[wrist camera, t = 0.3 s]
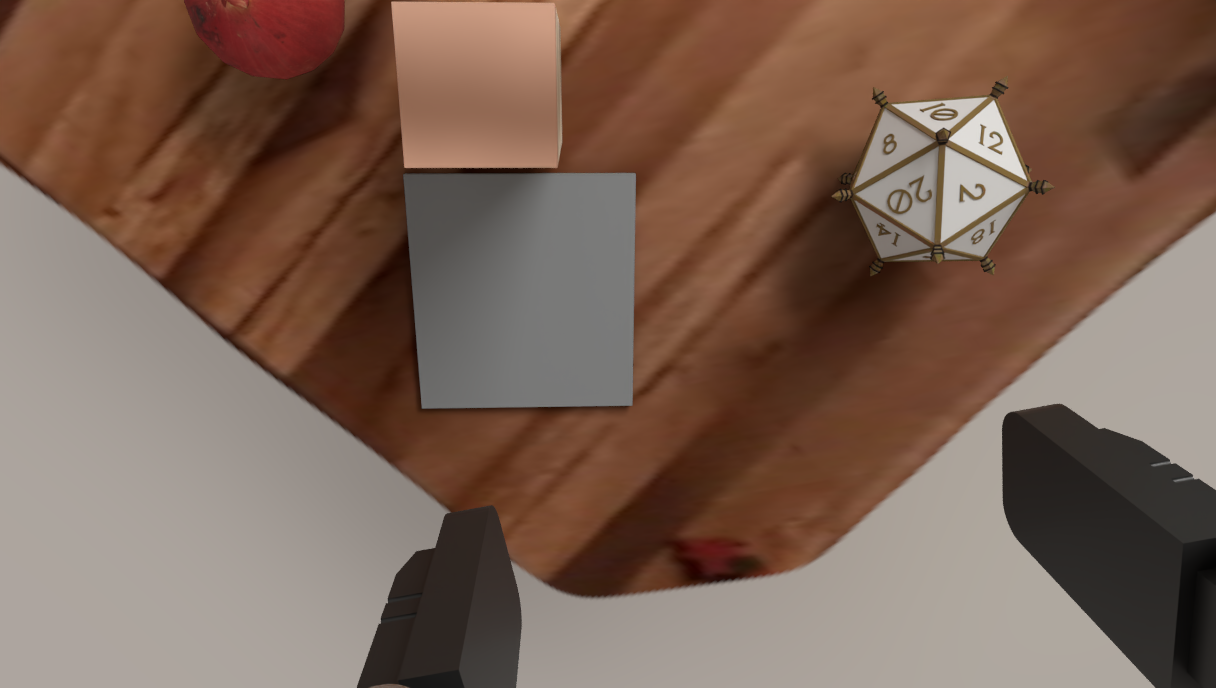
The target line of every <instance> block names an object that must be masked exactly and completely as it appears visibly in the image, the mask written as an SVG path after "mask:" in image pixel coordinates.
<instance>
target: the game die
mask: <svg viewBox="0 0 1216 688" xmlns="http://www.w3.org/2000/svg"><path fill="white" fill-rule="evenodd" d="M1007 81H1008V76H1006V77H1005V78H1003V79H1001V80H1000V81H998V82H995V83H996V84H995V86H994V87H992V88H993V90H992V93H991V94H990V95H982V96H969V97H957V98H944V99H931V100H919V101H906V102H894V103H888V102H887V100H886V96H885V95H884V93H883V92H884V91H880V90H878V89H876V88H874V87H873V98H872V100H873V99H874V100H875V101H876V103H875V104H878V105H880V107H881V109H880V112H879V114H878V116H877V119H876V121H875V124H874V126H873V128H872V131H871V133H870V136H869V138H868V141H867V143H866V145H865V148H864V150H863V153H862V155H861V158H860V160H859V162H858V165H857V167H856V170H855V172H854V174H853V175H851V174H850V173H849V174H846V173H844V174H843V175H842V176H841V177H839V178H838V180H839V181H840V182H841V184H845V185H846V184H849V185H850V184H851V185H850V189H849V190H847V189H843V190H842V189H839V190H837V191H836V193H835V194H834V195H832V196H831V197H833V198H835V199H837V200H838V201H839V202H842V201H847V199H849V198H850V199H851V201H852V203H853V206H854V208H855V210H856V212H857V214H858V216H859V218H860V220H861V223H862V225H863V227H864V229H865V231H866V233H867V235H868V237H869V240H870V242H871V244H872V246H873V248H874V250H875V252H876V254H877V257H878V259H877V260H876V261H875V262H872V263H873V264H872V265H871V266H869V267H870V276H872V275H874V274H877V273H880V270H881V269H882V268H883V263H884V262H919V261H935V262H936V263H937V264H939V263H940V262H941V261H980V262H981V267H982V268H984V269H983V270H984V272H988V273H990V274H992V275H994V268H995V265H996V264H993V262H992V261H993V260H990V259H989V258H988V257H987V255H988V254H989V252H990V251H991V249H992V248H993V246H994V245H995V243H996V242H997V240H998V239H999V237H1000V236H1001V234H1002V233H1003V231H1004V230H1005V228H1006V227H1007V225H1008V224H1009V222H1010V221H1011V219H1012V218H1013V216H1014V215H1015V213H1016V212H1017V210H1018V209H1019V207H1020V206H1021V204H1022V203H1023V201H1024V200H1025V198H1026V197H1027V195H1028V194H1029V192H1030V191H1033V192H1036V194H1038V193H1042V195H1043V194H1044V193H1045V192H1047V191H1049V190H1051V189H1053V188H1055V187H1054V186H1052V185H1051V184H1049V183H1048V181H1046V180H1043V181H1039V180H1037V182H1033V183H1032V181H1031V178H1030V176H1029V172H1030V171H1031V170H1032V169H1031V168H1029V166H1027V165H1025V164H1024V162H1023V159H1022V157H1021V154H1020V152H1019V150H1018V147H1017V145H1016V142H1015V140H1014V138H1013V135H1012V133H1011V130H1010V128H1009V126H1008V123H1007V121H1006V118H1005V116H1004V114H1003V111H1002V109H1001V107H1000V104H999V102H998V97H999V96H1000V95H1001V94H1004V91H1005V90H1006V89H1008V87H1007Z"/></svg>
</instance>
